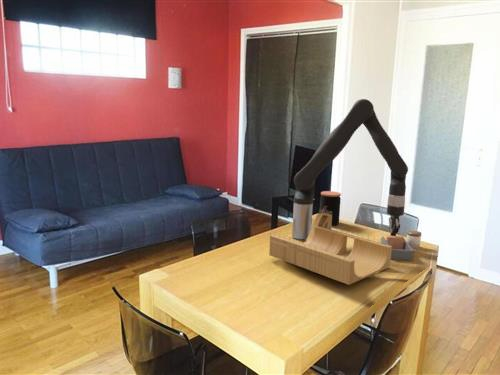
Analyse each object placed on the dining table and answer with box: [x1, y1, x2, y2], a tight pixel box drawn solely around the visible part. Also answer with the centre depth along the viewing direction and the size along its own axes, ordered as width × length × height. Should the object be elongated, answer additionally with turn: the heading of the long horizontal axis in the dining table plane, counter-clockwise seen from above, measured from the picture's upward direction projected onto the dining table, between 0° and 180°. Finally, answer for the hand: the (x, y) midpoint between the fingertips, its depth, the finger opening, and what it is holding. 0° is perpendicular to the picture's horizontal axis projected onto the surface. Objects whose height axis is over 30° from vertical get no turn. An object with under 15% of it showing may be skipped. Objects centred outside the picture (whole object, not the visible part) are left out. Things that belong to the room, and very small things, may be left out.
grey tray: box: [380, 236, 415, 262], centre depth 193 cm, size 10×19×4 cm, turn 174°
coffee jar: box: [319, 190, 342, 227], centre depth 235 cm, size 11×11×18 cm
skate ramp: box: [268, 209, 392, 286], centre depth 180 cm, size 40×35×16 cm
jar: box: [406, 230, 422, 250], centre depth 203 cm, size 6×6×7 cm
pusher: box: [385, 235, 405, 250], centre depth 197 cm, size 7×2×5 cm, turn 84°
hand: (392, 240), depth 202 cm, fingers closed
